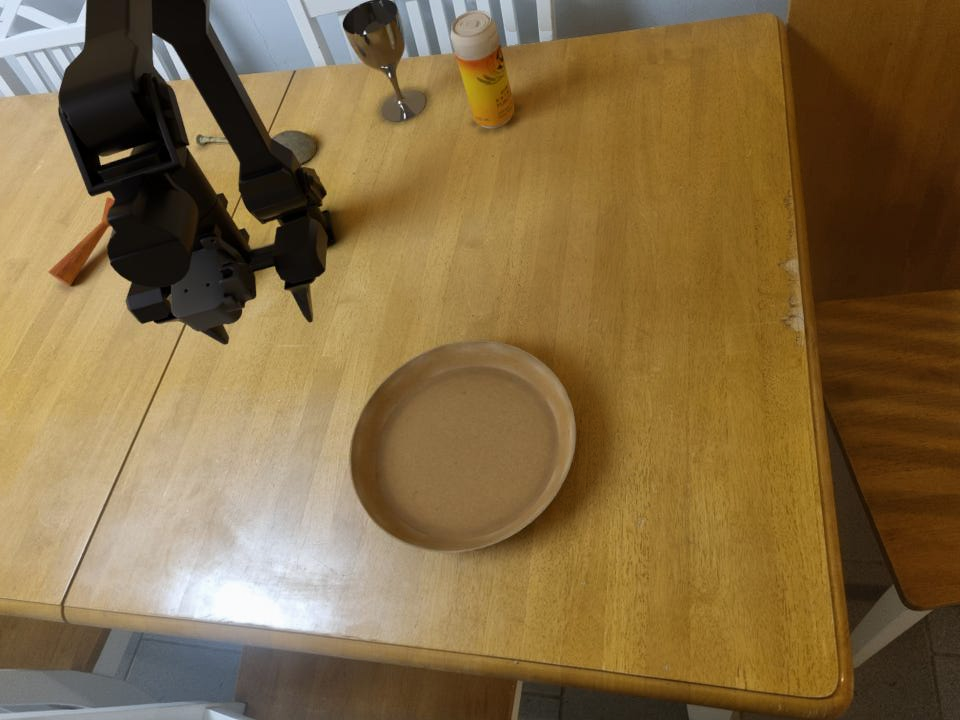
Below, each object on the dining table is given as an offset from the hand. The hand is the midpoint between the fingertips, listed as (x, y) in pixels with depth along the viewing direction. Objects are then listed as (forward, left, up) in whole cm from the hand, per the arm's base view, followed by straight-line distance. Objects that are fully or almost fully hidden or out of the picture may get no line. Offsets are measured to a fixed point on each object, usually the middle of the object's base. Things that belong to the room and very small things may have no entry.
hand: (268, 330), depth 75 cm
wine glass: (-47, +20, -14) cm, 53 cm away
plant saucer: (+13, +14, -14) cm, 24 cm away
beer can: (-37, +32, -14) cm, 51 cm away
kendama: (-42, -28, -14) cm, 52 cm away
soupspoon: (-50, -4, -14) cm, 52 cm away
